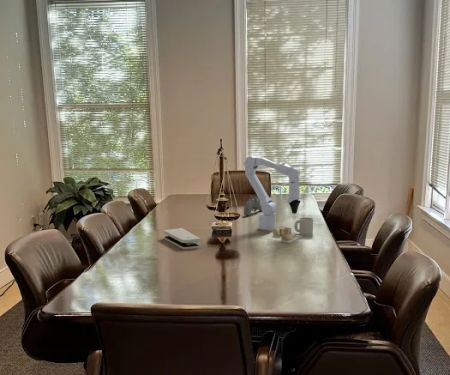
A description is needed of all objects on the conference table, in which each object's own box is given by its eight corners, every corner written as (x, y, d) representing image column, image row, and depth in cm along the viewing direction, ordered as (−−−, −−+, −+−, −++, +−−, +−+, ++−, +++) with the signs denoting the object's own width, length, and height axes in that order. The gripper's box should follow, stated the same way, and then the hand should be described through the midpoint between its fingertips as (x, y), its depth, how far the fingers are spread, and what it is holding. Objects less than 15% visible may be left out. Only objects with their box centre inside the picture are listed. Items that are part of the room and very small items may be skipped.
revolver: (262, 223, 298) (266, 202, 302) (248, 214, 280) (253, 192, 284) (255, 222, 301) (260, 202, 305) (241, 213, 283) (246, 192, 287)
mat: (259, 238, 228) (259, 237, 228) (274, 232, 241) (274, 231, 241) (289, 243, 217) (289, 242, 217) (303, 236, 230) (303, 235, 230)
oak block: (281, 240, 222) (281, 228, 221) (284, 238, 225) (284, 227, 225) (288, 240, 220) (288, 229, 219) (291, 239, 224) (291, 227, 223)
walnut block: (272, 228, 231) (279, 225, 236) (272, 235, 231) (279, 232, 237) (279, 229, 228) (286, 226, 234) (279, 236, 229) (286, 233, 235)
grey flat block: (201, 248, 212) (201, 238, 211) (181, 251, 207) (180, 241, 206) (182, 236, 235) (182, 227, 234) (163, 239, 230) (163, 230, 230)
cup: (312, 236, 230) (312, 220, 229) (293, 235, 232) (294, 219, 231) (312, 233, 237) (313, 217, 236) (294, 232, 239) (294, 216, 238)
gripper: (294, 191, 230) (294, 216, 232) (306, 188, 241) (306, 211, 243) (282, 190, 234) (283, 215, 236) (295, 187, 245) (295, 210, 247)
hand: (294, 213), depth 240 cm, fingers closed
